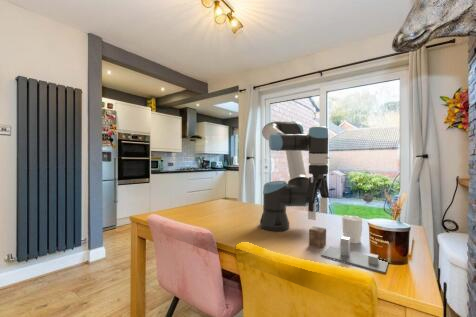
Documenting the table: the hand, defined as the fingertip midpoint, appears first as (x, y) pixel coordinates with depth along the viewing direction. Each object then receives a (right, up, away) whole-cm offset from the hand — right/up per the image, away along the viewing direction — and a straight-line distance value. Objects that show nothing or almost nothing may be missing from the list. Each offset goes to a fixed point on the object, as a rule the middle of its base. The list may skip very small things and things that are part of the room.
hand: (318, 216), depth 96 cm
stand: (+9, -12, -13) cm, 20 cm away
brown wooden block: (0, -12, +1) cm, 12 cm away
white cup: (+17, -12, +5) cm, 21 cm away
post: (+6, -12, -11) cm, 18 cm away
